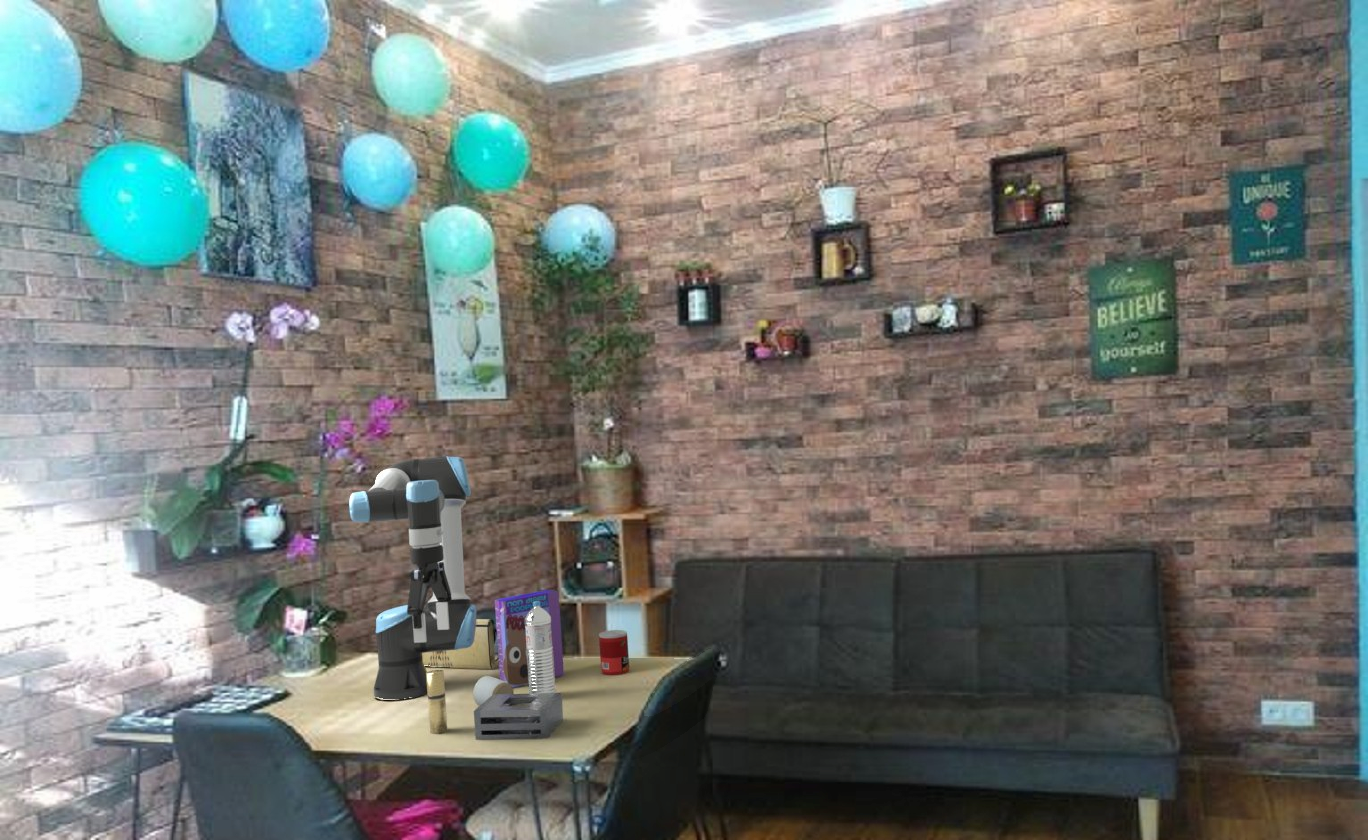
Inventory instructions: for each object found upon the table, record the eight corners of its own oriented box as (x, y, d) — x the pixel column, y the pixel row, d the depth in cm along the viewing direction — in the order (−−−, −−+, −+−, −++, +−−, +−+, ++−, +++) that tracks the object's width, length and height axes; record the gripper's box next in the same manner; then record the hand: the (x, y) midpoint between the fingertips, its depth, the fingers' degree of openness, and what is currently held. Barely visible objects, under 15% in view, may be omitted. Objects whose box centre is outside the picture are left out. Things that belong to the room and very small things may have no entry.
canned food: (628, 674, 268) (625, 634, 268) (599, 676, 268) (597, 636, 268) (630, 667, 276) (627, 628, 276) (602, 669, 276) (600, 630, 276)
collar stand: (475, 739, 220) (473, 710, 220) (494, 721, 233) (493, 694, 233) (547, 737, 218) (545, 709, 218) (563, 719, 231) (561, 692, 231)
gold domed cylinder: (427, 734, 227) (423, 674, 227) (434, 728, 231) (430, 669, 231) (443, 733, 226) (439, 674, 226) (450, 728, 230) (446, 669, 230)
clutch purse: (508, 665, 289) (505, 615, 289) (496, 671, 282) (492, 620, 282) (424, 662, 299) (421, 614, 299) (410, 668, 292) (407, 619, 292)
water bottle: (550, 701, 246) (544, 604, 246) (525, 702, 248) (519, 604, 248) (559, 694, 253) (553, 598, 253) (535, 694, 255) (528, 599, 255)
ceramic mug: (493, 714, 239) (492, 683, 239) (473, 709, 244) (471, 679, 244) (526, 704, 247) (525, 673, 247) (506, 699, 252) (505, 670, 252)
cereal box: (508, 689, 261) (502, 600, 261) (500, 686, 265) (494, 598, 265) (564, 675, 272) (558, 590, 272) (555, 672, 276) (549, 588, 276)
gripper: (419, 552, 215) (425, 647, 215) (461, 538, 240) (466, 623, 240) (387, 553, 216) (394, 648, 216) (432, 539, 241) (438, 624, 241)
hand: (432, 635), depth 228 cm, fingers open, 13 cm apart
